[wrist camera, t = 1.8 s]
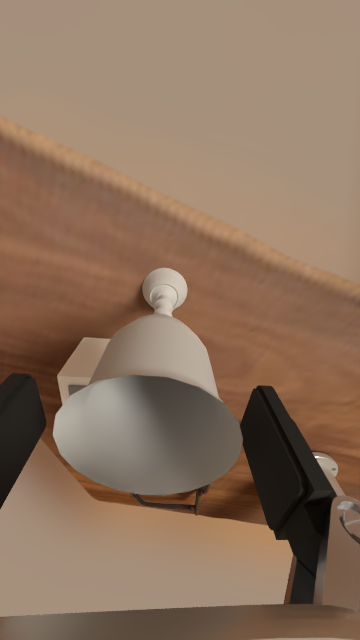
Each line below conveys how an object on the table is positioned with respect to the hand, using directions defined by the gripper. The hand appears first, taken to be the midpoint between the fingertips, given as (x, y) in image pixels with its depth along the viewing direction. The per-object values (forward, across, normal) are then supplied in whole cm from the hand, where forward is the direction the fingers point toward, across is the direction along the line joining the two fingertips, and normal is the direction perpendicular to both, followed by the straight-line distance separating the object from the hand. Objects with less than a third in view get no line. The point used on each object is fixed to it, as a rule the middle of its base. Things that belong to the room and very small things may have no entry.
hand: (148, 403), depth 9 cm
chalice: (+16, 0, +1) cm, 17 cm away
